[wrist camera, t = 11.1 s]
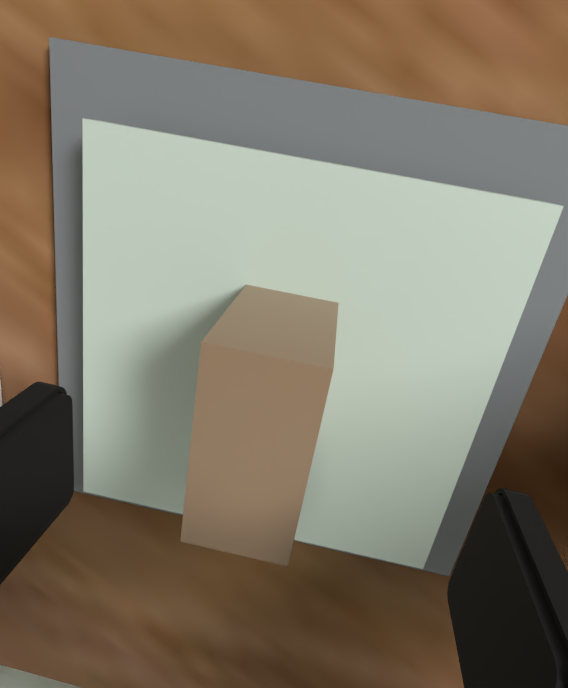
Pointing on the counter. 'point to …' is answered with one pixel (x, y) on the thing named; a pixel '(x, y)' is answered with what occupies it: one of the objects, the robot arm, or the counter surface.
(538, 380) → the counter surface
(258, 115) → the mat
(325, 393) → the lid
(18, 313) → the counter surface
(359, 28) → the counter surface
